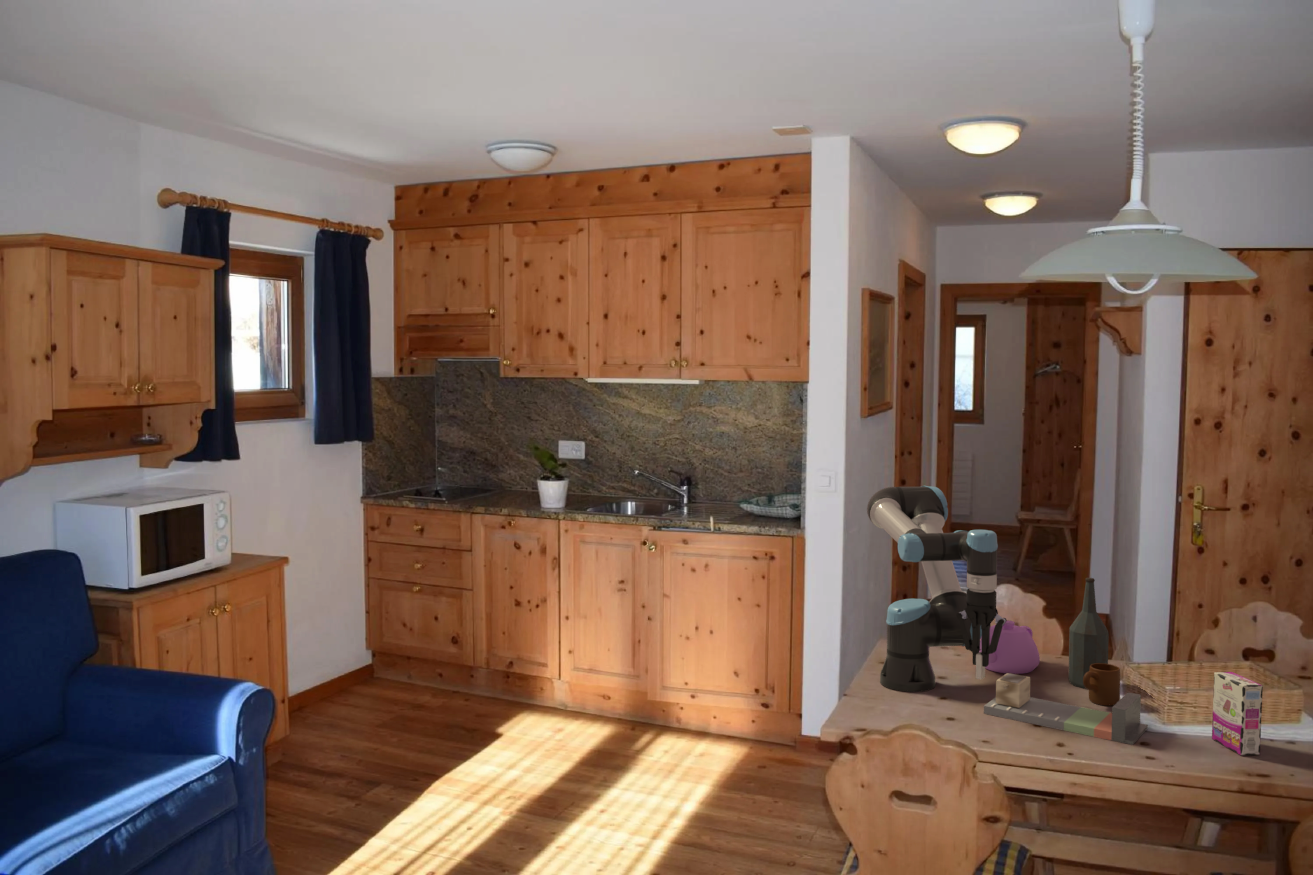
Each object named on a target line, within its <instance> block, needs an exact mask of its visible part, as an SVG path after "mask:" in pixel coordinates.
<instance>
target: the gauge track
mask: <svg viewBox="0 0 1313 875" xmlns="http://www.w3.org/2000/svg"><path fill="white" fill-rule="evenodd" d="M983 714H984V715H989V716H994V717H998V718H1003V719H1009V720H1013V721H1018V722H1022V723H1028V724H1032V725H1037V726H1040V727H1041V726H1042V727H1047V728H1051V729H1056V730H1061V731H1064V732H1070V733H1074V734H1075V733H1076V734H1079V735H1085V736H1089V737H1094V738H1099V739H1103V740H1109V741H1112V740H1111V736H1112V712H1109V711H1103V710H1099V709H1093V708H1088V707H1082V706H1078V705H1077V706H1076V705H1073V704H1072V705H1071V704H1066V703H1062V702H1057V701H1051V700H1047V699H1042V698H1036V697H1031V696H1030V700H1029V701H1027V702H1026V703H1025V704H1024V705H1022V706H1021V707H1020V708H1017V707H1012V706H1007V705H1002V704H997V703H996V697H994V698H992V699H991V700H990V701H989V702H987V703H985V704H984V705H983Z"/></svg>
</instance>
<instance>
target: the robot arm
mask: <svg viewBox="0 0 1313 875" xmlns="http://www.w3.org/2000/svg"><path fill="white" fill-rule="evenodd" d="M947 501H948V500H947V498H946V496H945V493H944V492H943V491H942V490H941V489H940V488H939V487H937V486H928V485H921V486H889V487H885V488H882V489H879V490H877V491H876V492H875V493H874V494H872V496H871V497H870V499H869V500H868V503H867V506H866V511H867V512H866V513H867V517H868V518H869V520H870V522H871V523H872V524H873V525H874V526H875V527H877V528H878V529H882V530H884V531H885V532H886V533H887V534H888V535H889V536H890V537H891V538H892V539H893V540H894V541H895V542H896V543H897V552H898V555H899V558H900V560H901V561H903V562H911V563H918V562H919V563H921V565H922V569H923V572H924V576H925V580H926V582H927V586H928V589H929V590H928V591H929V592H930V596H931V599H930V600H927V599H925V598H924V599H923V598H905V599H899V600H896V601H894V602H892V603H891V604H889V605H888V607H887V613H886V620H885V623H886V656H885V659H884V662H883V665H882V668H881V670H880V673H879V674H880V675H879V682H880V684H881V685H882V686H883V687H884V688H887V689H891V690H894V691H901V692H910V693H911V692H913V693H916V692H917V693H918V692H925V691H926V692H927V691H930V690H933V689H934V688H935V687H936V675H935V672H934V668H933V666H932V662H931V659H930V649H931V648H930V647H932V648H934V647H936V648H937V647H939V648H940V647H964V648H965V650H967V651H970V652H971V653H972V665H973V666H975V679H976V680H983V679H985V677H986V668H985V667H987V666H988V664H989V654H992V653H994V652H995V651H996V649H997V646H998V642H999V638H1000V634H1001V631H1002V627H1003V625H1004V624H1005V623H1006V621H1007V618H1006V617H1002V615H1000V614H999V611H998V609H997V596H998V595H997V593H998V592H997V591H996V589H997V588H998V587H997V585H998V584H997V581H998V580H997V578H998V572H997V571H998V570H997V567H998V548H999V544H998V536H997V535H998V534H997V533H996V532H995V531H993V530H988V529H972V530H961V529H960V530H955V531H953V532H944V531H943V527H944V526H945V523H946V521H947V519H948V516H949V508H948V502H947ZM953 561H955V562H956V561H958V562H959V561H964V562H966V588H967V590H966V591H963V590H962V588H961V585H960V582H959V578H958V575H957V572H956V568H955V565H954V563H953ZM993 621H994V623H995V624H994V625H995V628H994V632H993V635H992V639H991V643H990V627H991V626H992V625H991V624H992V623H993ZM981 636H982V652H979V651H980V650H981V649H980V640H981Z"/></svg>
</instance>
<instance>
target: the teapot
mask: <svg viewBox="0 0 1313 875" xmlns="http://www.w3.org/2000/svg"><path fill="white" fill-rule="evenodd" d="M1006 620H1007V619H1006ZM1015 624H1016V623H1015V621H1013V620H1009V619H1008V620H1007V621H1006V623H1005V624H1004V625H1003V627H1002V631H1001V634H1000V638H999V642H998V646H997V649H996V651H995V652H994V653H992V654H989V664H988V666H987V667H985V670H988V671H990V672H995V673H1000V674H1006V673H1011V674H1016V675H1023V674H1029V673H1032V672H1033V671H1034V670H1035V669H1036V668H1037V667H1038V666H1039V664H1040V661H1041V660H1040V657H1041V656H1040V652H1039V649H1038V646H1037V644H1036V642H1035V639H1033V633H1034V632H1033V631H1032V628H1031V627H1029V626H1026V625H1021V626H1019V625H1015ZM995 625H996V624H993V625H991V626H990V643H991V639H992V635H993V632H994V628H995ZM980 649H981V650H980V651H979V652H982V636H981V639H980Z"/></svg>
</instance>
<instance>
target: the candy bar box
mask: <svg viewBox="0 0 1313 875" xmlns="http://www.w3.org/2000/svg"><path fill="white" fill-rule="evenodd" d="M1263 688H1264V686H1263V685H1262V684H1260V683H1259V682H1256V681H1253V680H1251V679H1249V678H1247V677H1244V676H1243V675H1240V674H1238V673H1235V672H1233V671H1219V672H1218V671H1217V672H1215V671H1214V672H1213V693H1212V694H1213V697H1212V698H1213V699H1212V720H1211V721H1212V722H1211V724H1212V725H1211V728H1212V729H1211V739H1212V740H1213V741H1215V742H1217V743H1218V744H1220V745H1222V746H1223V747H1225V748H1227V749H1228V750H1231V751H1233V752H1234V753H1236V754H1238V755H1240V756H1260V755H1261V742H1262V741H1261V739H1262V738H1261V736H1262V734H1261V733H1262V716H1263V714H1262V713H1263V711H1262V710H1263V691H1264V690H1263Z"/></svg>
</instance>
